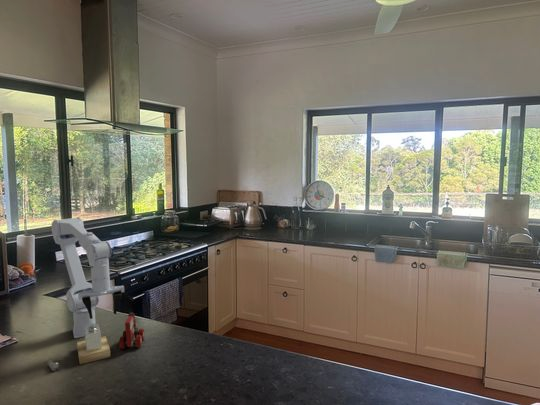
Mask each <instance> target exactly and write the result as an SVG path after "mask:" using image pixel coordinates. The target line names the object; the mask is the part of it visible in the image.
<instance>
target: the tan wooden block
mask: <svg viewBox="0 0 540 405" xmlns="http://www.w3.org/2000/svg"><path fill="white" fill-rule="evenodd" d="M101 345H102V349H100V350H95V351H91V352H87V350H86V345H85V339H84V340H78V341H76V347H77V348H76V349H77V354H78V355H77V356H78V360H79V365H83V364H87V363H91V362H95V361H99V360H103V359H107V358H111V348H110V345H109V342H108V338H107V336H106V335H101Z"/></svg>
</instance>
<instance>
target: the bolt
mask: <svg viewBox="0 0 540 405" xmlns="http://www.w3.org/2000/svg"><path fill="white" fill-rule="evenodd" d="M46 365H47V367H48V368H50V371H52V372H56V371H57V372H58V370H60V368H61V365H60V363H59V362H54V361H52V360H48V362H47V363H46Z"/></svg>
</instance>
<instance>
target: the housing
mask: <svg viewBox="0 0 540 405" xmlns="http://www.w3.org/2000/svg"><path fill="white" fill-rule="evenodd" d="M83 337H84V340H85V345H86V350H87V352H91V351H95V350H100V349H102V345H101V337H102V332H101V328H100V325H99V323H98V322H95V324H90V325H85V326H84V336H83Z"/></svg>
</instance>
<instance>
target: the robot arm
mask: <svg viewBox="0 0 540 405" xmlns="http://www.w3.org/2000/svg"><path fill="white" fill-rule="evenodd" d="M51 233H52V237H53V240H54V242H55V244H57V245H60V249H61V252H62V256H63V258H64V262H65V266H66V269H67V273H68V276H69V280H70V283H71V287H70V288H69V289H68V291H67V292H66V295H65V297H66V305H67V308H68V310H69V311H70V312H72V313H73V315H72V316H73V328H72V333H73V338H74V339H78V338H84V337H85V336H84V326H85V325H90V324H95V323H96V311H95V309H97V306H98V305H99V303H100V296H105V295H111V294H112V306H113V307H112V308H113V309H112V311H113V314H114V315H117V311H118V308H119V307H118V306H119V302H120V301H121V298H122V295H123V294H122V293H125V286H124V285H114V286H113V285H112V286H111V278H110V263H109V261H110V258H111V256H112V247H111V244H110V243H109V241H107V240H106V241H104V240H101V239H99V237H98V236H96V235H95V234H94V232H92V231H90V232H89V231H87V230H86V229H85V226H84V221H83V219H82V218H81V217H80V216H78V217H71V218H63V219H53V220H52V222H51ZM77 242H78V244H79V246H80V247H82V248H83V250H85V252H86V257H87V259H88V264H89V266H90V274H91V276H90V277H91V282H88V281H87V279H86V276H85V273H84V270H83V266H82V263H81V259H80V257H79V256H80V255H79V253H78V250H77V246H76V243H77Z"/></svg>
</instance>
